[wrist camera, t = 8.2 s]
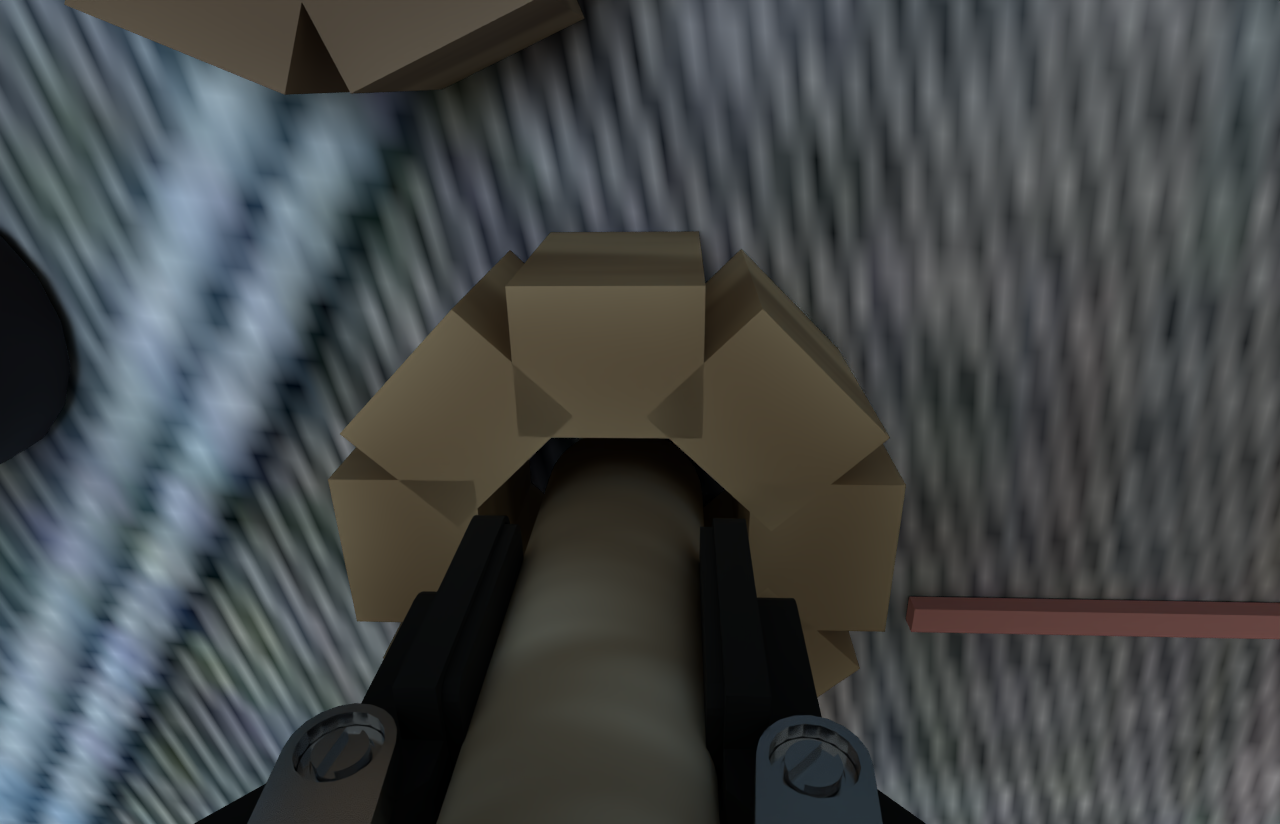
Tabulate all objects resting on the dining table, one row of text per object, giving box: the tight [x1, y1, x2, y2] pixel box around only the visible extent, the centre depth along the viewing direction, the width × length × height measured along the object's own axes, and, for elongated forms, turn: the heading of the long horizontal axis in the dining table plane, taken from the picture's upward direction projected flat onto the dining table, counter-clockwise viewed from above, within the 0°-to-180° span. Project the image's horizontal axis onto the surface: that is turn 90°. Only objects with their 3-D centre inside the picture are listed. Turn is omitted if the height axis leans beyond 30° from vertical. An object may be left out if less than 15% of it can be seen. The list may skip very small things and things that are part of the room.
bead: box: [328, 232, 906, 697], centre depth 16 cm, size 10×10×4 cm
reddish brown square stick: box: [906, 597, 1280, 639], centre depth 19 cm, size 12×1×1 cm, turn 91°
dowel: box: [436, 438, 720, 824], centre depth 10 cm, size 3×3×12 cm
